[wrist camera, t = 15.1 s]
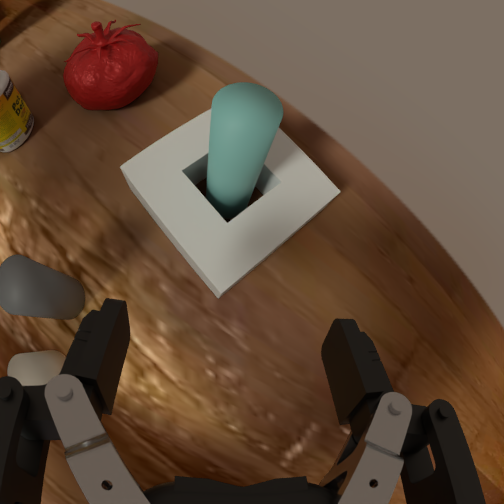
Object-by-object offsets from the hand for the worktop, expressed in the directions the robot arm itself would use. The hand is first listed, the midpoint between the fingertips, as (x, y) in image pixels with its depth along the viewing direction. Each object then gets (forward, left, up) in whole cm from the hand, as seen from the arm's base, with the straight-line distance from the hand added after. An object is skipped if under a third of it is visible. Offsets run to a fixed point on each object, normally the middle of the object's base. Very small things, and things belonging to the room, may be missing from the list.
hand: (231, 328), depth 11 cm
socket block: (+7, +8, -12) cm, 16 cm away
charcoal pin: (-9, +10, -12) cm, 18 cm away
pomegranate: (+6, +26, -12) cm, 29 cm away
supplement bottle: (-6, +30, -12) cm, 33 cm away
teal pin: (+7, +7, -12) cm, 16 cm away
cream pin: (-14, +6, -12) cm, 19 cm away
